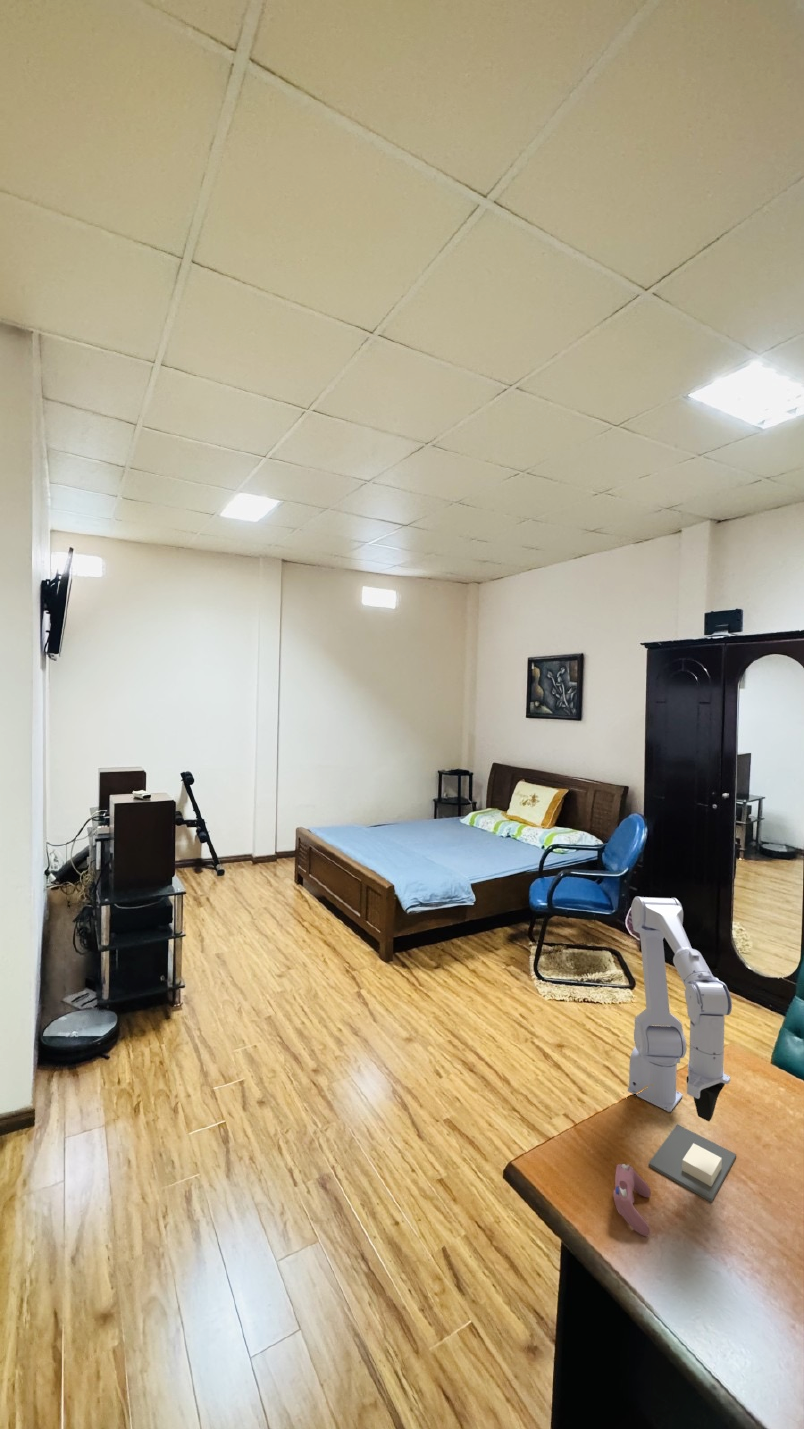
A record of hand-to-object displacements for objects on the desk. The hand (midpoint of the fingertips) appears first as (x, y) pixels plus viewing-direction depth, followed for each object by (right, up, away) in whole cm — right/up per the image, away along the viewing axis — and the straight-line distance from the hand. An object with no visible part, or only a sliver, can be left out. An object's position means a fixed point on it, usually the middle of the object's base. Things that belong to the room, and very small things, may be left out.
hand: (704, 1117), depth 107 cm
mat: (-1, -10, +2) cm, 10 cm away
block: (+1, -8, +1) cm, 9 cm away
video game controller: (-18, -10, -9) cm, 22 cm away
